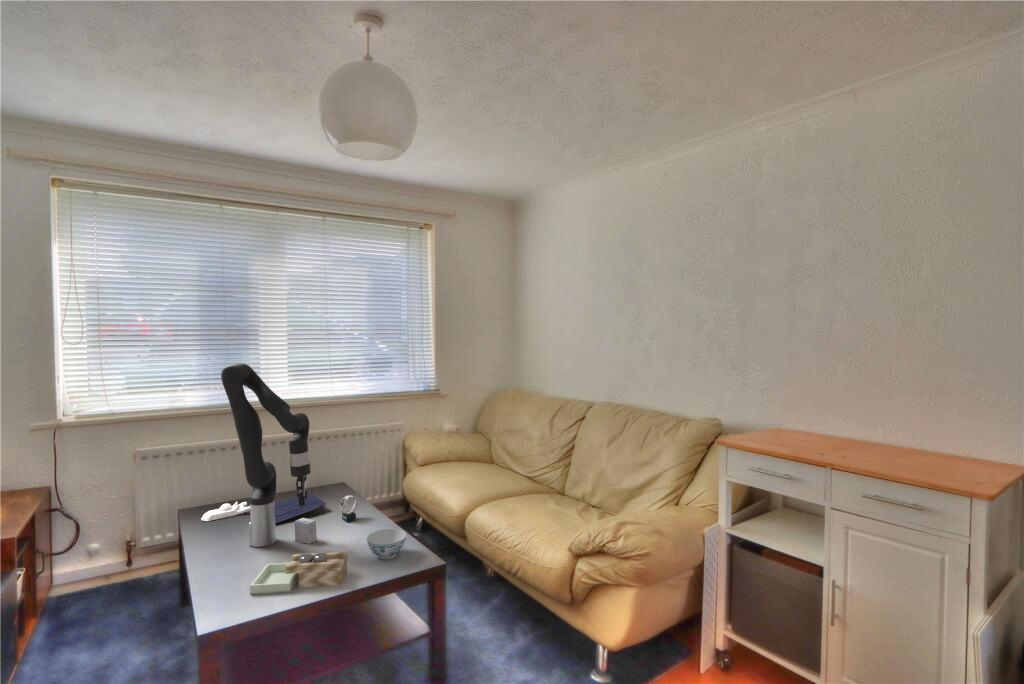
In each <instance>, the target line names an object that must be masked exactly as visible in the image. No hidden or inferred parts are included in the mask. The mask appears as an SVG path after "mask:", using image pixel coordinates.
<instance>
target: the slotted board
mask: <svg viewBox="0 0 1024 684" xmlns="http://www.w3.org/2000/svg"><path fill="white" fill-rule="evenodd" d="M319 553H320V552H314V553H313V552H312V553H308V554H312V563H299V557H300V556H301V555H303V554H304V553H294V554H293V555H292V558H291V562H289V563H290V564H286V566H285V574H291V573H299V579H298V587H299V588H309V587H310V588H312V587H327V586H341V585H342V583H343V581H344V579H345V577H346V574H347V573H348V565H347V564H348V561H347V560H348V555H347V551H331V552H325V553H326V554H327V562H314V555H316V554H319Z"/></svg>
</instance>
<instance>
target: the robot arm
mask: <svg viewBox="0 0 1024 684" xmlns="http://www.w3.org/2000/svg"><path fill="white" fill-rule="evenodd" d="M220 377H221V378H220V379H221V382H222V386H223V388H224V390H225V391H224V392H225V394H226V396H227V399H228V402H229V405H230V406H229V407H230V409H231V413H232V417H233V421H234V426H235V429H236V430H235V431H236V434H237V437H238V442H239V445H240V450H241V453H242V457H243V464H244V473H245V477H246V478H245V479H246V482H247V483H248V485H249V486H250V487H251V488H252V492H251V494H250V497H249V503H250V505H249V506H250V511H249V513H250V515H249V516H250V521H249V523H248V541H249V543H248V544H249V545H248V546H249V547H254V548H263V547H264V548H265V547H269V546H271V545H273V544H275V542H276V541H277V540H276V539H277V538H276V537H277V535H276V523H275V504H276V500H275V499H276V498H275V497H276V493H277V470H276V467H275V465H274V464H273V463H271V462H270V461H264V457H263V452H262V447H263V446H262V445H263V426H262V423H261V419H260V416H259V414H258V412H257V410H256V409H255V408H254V406H253V405H252V404H251V403H250V401H249V400H248V398H247V396H246V392H245V389H244V387H246V388H248V389H249V390H251V391H252V392H253V393H254V394H255V396H256V397H257V399H258V402H259V403H260V404H261V406H262V408H263V409H265V410H266V411H267V412H268V413H269V414H270V415H271V416H273V417H274V418H275V420H276V421H277V422H278V423H279V425H280V426H281V427H282V429H283V430H285V432H288V433H290V434H292V437H291V438H290V440H289V442H288V446H289V447H288V449H289V467H290V476H291V477H292V478H293V477H296V480H295V486H296V487H295V489H296V497H298V499H299V506H304V505H305V499H307V495H308V485H309V484H308V477H307V476H308V475H309V474H311V472H312V471H311V470H312V469H311V458H310V452H309V445H308V439H309V431H310V420H309V417H308V415H307V414H305V413H303V412H298V413H296V414H293V413H292V412H291V406H290V404H289V403H287V402H286V401H284V400H283V399H282V398H281V397H280V396H279V395H278V394H276V393H275V392H274V391H273V390H272V389H271V388H270V387H269V385H267V384H266V383H265V381H263V379H262V378H261V377H260V376H259V375H258V374H257V372H256V371H255V370H254V369H253V367H251V366H250V365H249V364H246V363H235V364H230V365H227V366H225V367H224V368H222V370H221V373H220Z"/></svg>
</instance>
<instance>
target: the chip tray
mask: <svg viewBox="0 0 1024 684" xmlns="http://www.w3.org/2000/svg"><path fill="white" fill-rule="evenodd" d="M290 563H291V562H279V563H276V562H275V563H267V564H266V565H265V566H264V567H263V569H261V571H260V573H259V574H258V575H257V576H256V577H255V578H254V579H253V581H252V582H251V584H250V585H249V594H250V595H262V594H263V595H265V594H278V593H279V594H280V593H291V592H292V590H293V588H294V586H295V585H296V584H297V582H299V573H291V574H285V566H286V564H290Z"/></svg>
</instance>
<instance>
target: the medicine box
mask: <svg viewBox="0 0 1024 684" xmlns="http://www.w3.org/2000/svg"><path fill="white" fill-rule="evenodd" d="M317 534H318V533H317V520H315V519H310V518H306V517H301V518H299V519H297V520H294V541H295V542H297V543H298V542H299V543H303V544H308V545H310V544H312V543H314V542H316V541H317V539H318V536H317Z"/></svg>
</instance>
